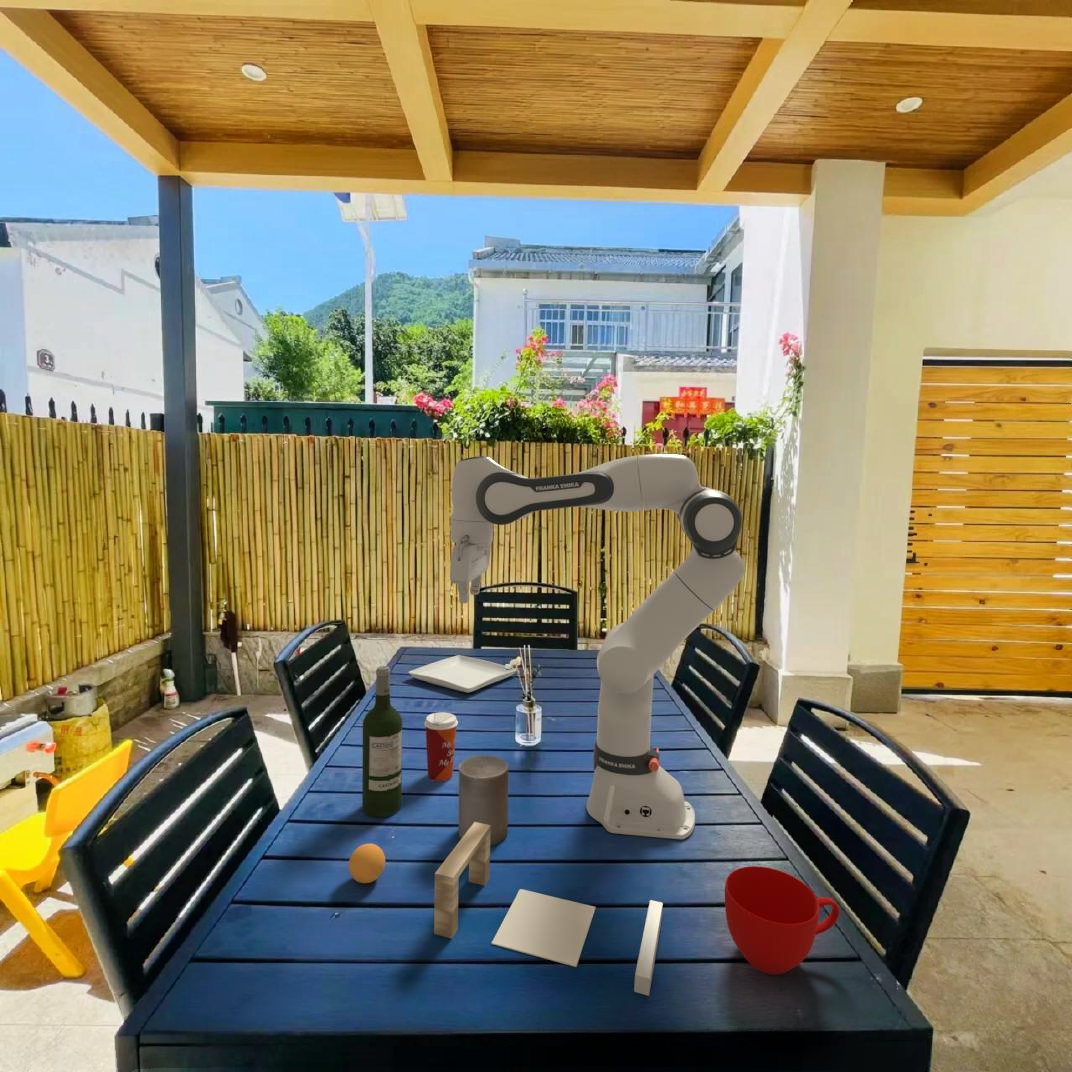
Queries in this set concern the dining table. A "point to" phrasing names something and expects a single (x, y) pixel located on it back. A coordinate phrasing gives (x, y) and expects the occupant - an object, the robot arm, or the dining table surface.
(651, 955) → the wall
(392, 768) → the wine bottle
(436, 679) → the square plate
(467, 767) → the pillar candle
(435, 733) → the paper cup
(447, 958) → the dining table surface
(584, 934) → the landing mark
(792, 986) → the dining table surface
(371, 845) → the ball
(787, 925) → the ceramic cup
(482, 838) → the bridge
